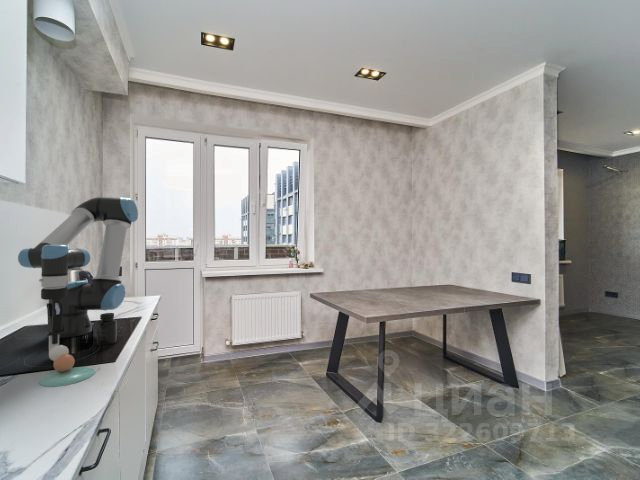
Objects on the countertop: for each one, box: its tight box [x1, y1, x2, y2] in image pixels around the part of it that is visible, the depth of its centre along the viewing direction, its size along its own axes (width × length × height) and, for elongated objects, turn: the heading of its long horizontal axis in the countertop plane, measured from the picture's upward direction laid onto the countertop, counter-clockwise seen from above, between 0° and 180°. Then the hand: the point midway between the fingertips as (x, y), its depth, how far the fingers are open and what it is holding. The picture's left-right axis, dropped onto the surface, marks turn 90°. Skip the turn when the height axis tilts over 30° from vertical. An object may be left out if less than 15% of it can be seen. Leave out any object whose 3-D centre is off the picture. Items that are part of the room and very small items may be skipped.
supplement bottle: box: [96, 312, 118, 346], centre depth 135 cm, size 7×7×12 cm
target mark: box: [38, 366, 96, 388], centre depth 103 cm, size 14×14×1 cm
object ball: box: [53, 353, 76, 372], centre depth 107 cm, size 6×6×6 cm
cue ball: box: [48, 344, 70, 362], centre depth 115 cm, size 6×6×6 cm
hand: (53, 352), depth 119 cm, fingers closed
